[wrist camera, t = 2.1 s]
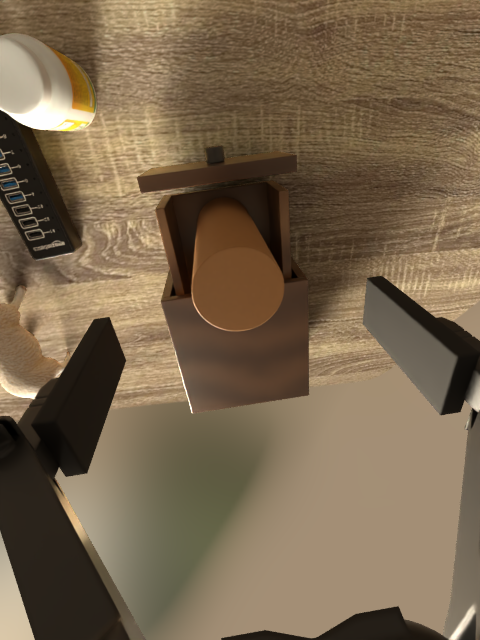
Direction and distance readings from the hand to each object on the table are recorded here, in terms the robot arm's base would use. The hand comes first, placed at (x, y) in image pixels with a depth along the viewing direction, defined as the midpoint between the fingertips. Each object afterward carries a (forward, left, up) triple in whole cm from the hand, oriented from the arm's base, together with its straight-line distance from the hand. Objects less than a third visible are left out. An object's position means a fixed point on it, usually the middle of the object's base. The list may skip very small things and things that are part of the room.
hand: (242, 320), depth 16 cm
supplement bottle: (-13, -12, -21) cm, 27 cm away
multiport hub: (-7, -18, -21) cm, 29 cm away
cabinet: (+11, 0, -21) cm, 24 cm away
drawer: (0, 0, -20) cm, 20 cm away
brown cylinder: (0, 0, -19) cm, 19 cm away
